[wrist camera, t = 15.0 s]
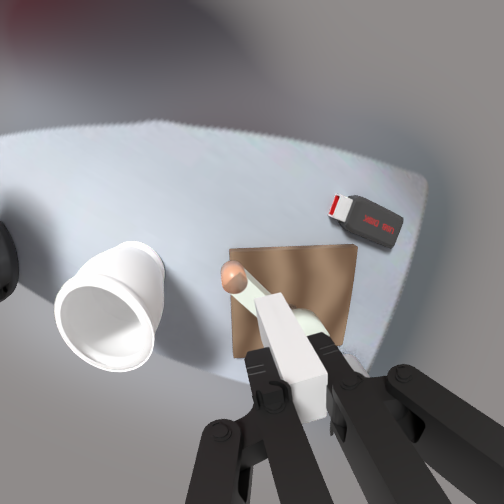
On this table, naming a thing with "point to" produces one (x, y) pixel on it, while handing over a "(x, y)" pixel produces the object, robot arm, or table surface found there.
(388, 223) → the usb drive
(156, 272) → the jar
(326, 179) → the table surface
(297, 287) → the base plate
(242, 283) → the tan-tipped lever stick
